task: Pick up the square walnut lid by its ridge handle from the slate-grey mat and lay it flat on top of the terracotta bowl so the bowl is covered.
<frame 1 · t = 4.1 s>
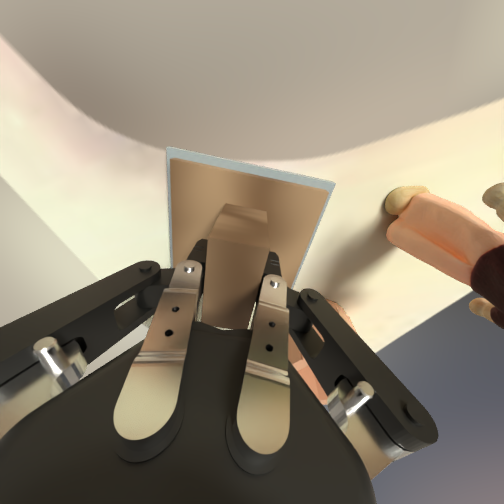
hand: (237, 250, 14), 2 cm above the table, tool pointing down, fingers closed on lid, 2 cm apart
grandmother figurine: (405, 219, 14), on the table
mat: (240, 237, 15), on the table
bowl: (308, 324, 21), on the table
lid: (240, 240, 15), point 1 cm above the table, touching gripper, mat
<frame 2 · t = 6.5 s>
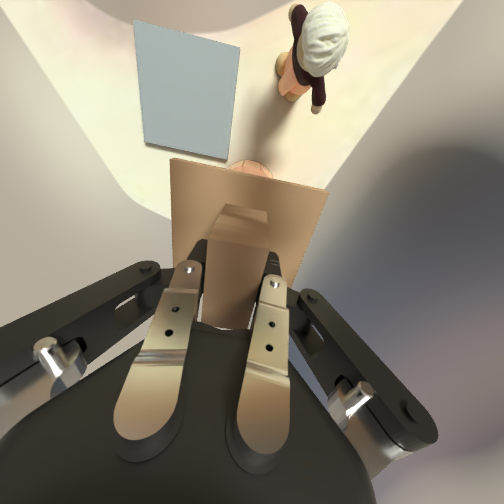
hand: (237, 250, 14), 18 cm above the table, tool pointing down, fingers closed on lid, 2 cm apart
grandmother figurine: (293, 82, 22), on the table
mat: (188, 100, 23), on the table
bowl: (247, 189, 29), on the table
lid: (240, 240, 15), point 16 cm above the table, touching gripper
when the fingers open (8 cm above the table, at t = 8.8 s): lid drops 2 cm, resting on bowl.
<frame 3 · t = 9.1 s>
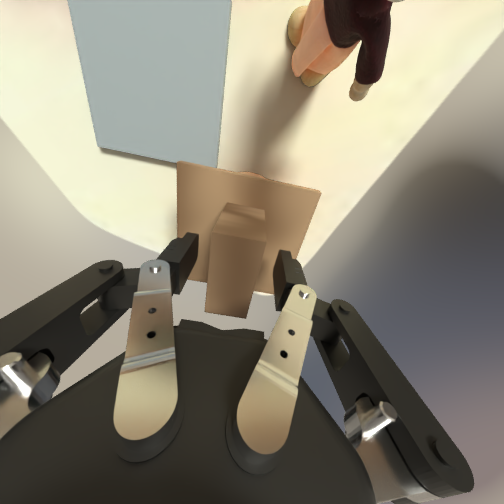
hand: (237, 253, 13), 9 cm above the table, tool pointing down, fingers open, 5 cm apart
grandmother figurine: (313, 57, 15), on the table
mat: (156, 85, 16), on the table
lid: (240, 237, 16), point 6 cm above the table, touching bowl
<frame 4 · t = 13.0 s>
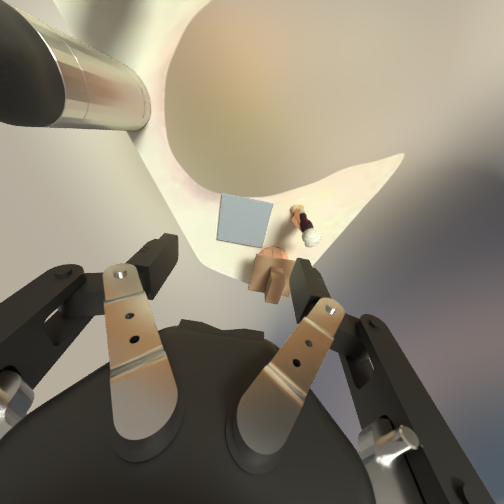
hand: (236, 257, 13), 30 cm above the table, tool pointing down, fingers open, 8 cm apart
grandmother figurine: (299, 215, 43), on the table
mat: (243, 221, 44), on the table
bowl: (272, 260, 49), on the table
lid: (273, 275, 44), point 6 cm above the table, touching bowl
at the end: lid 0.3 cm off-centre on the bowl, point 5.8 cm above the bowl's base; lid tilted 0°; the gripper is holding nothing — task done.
